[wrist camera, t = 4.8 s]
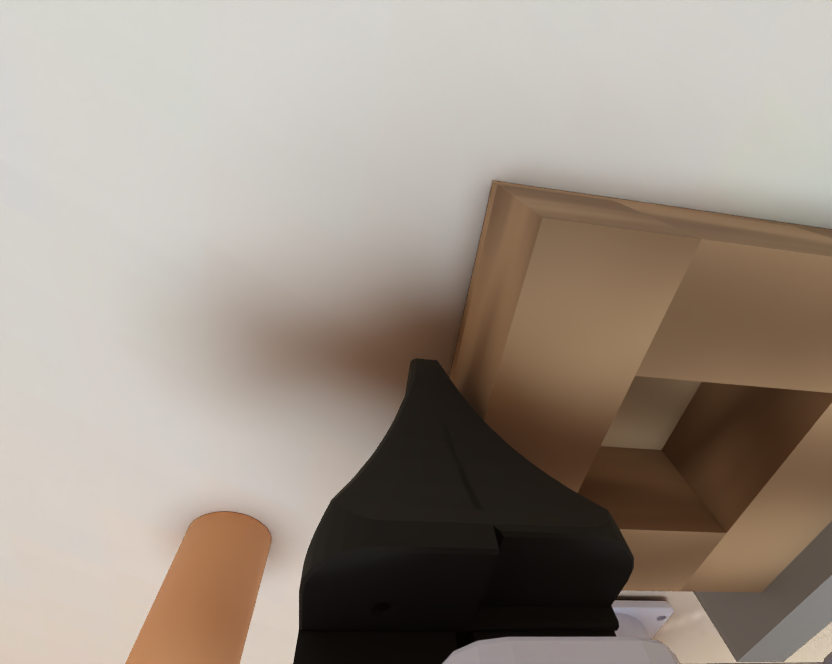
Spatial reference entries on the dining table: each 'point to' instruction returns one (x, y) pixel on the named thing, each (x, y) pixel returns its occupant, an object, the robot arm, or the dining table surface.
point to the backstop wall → (777, 607)
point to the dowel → (206, 594)
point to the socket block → (661, 374)
